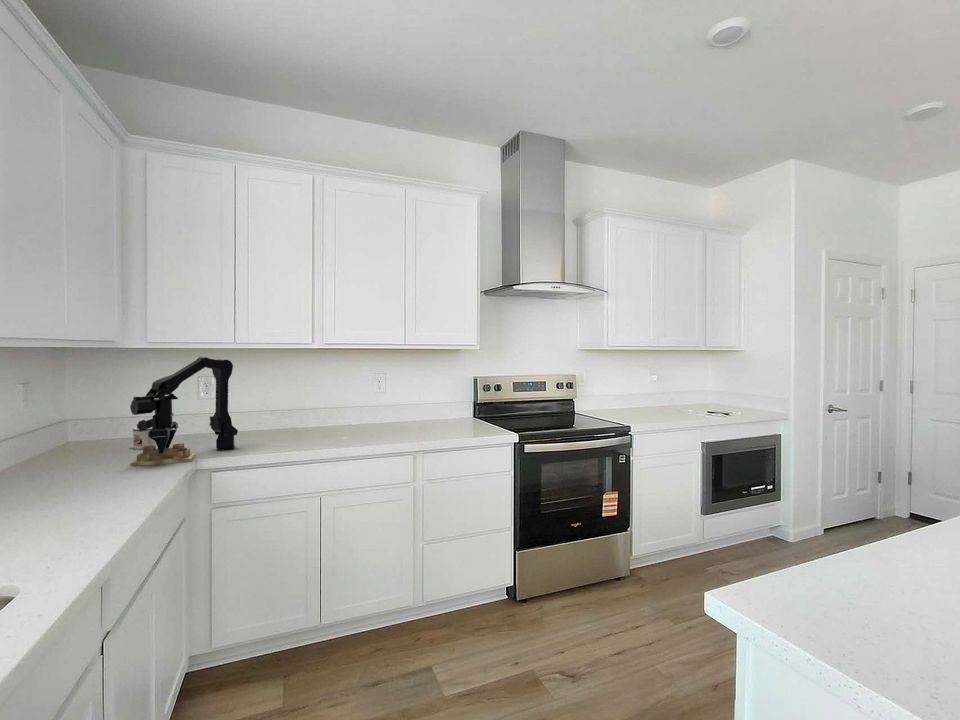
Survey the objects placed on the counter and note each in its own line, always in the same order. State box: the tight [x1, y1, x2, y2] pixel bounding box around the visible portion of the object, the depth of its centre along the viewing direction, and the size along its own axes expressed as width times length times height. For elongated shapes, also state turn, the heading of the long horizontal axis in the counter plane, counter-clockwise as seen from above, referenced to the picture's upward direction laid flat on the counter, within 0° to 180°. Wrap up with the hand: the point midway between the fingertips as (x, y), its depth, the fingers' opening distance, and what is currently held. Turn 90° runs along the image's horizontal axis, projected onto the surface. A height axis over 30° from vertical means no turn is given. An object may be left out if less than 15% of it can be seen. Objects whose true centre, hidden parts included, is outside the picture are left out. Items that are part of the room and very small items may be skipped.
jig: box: [129, 447, 197, 467], centre depth 185 cm, size 20×9×4 cm, turn 112°
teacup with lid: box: [132, 426, 157, 450], centre depth 208 cm, size 12×9×12 cm
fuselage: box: [142, 442, 185, 460], centre depth 185 cm, size 13×4×5 cm, turn 112°
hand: (164, 450), depth 185 cm, fingers open, 9 cm apart
